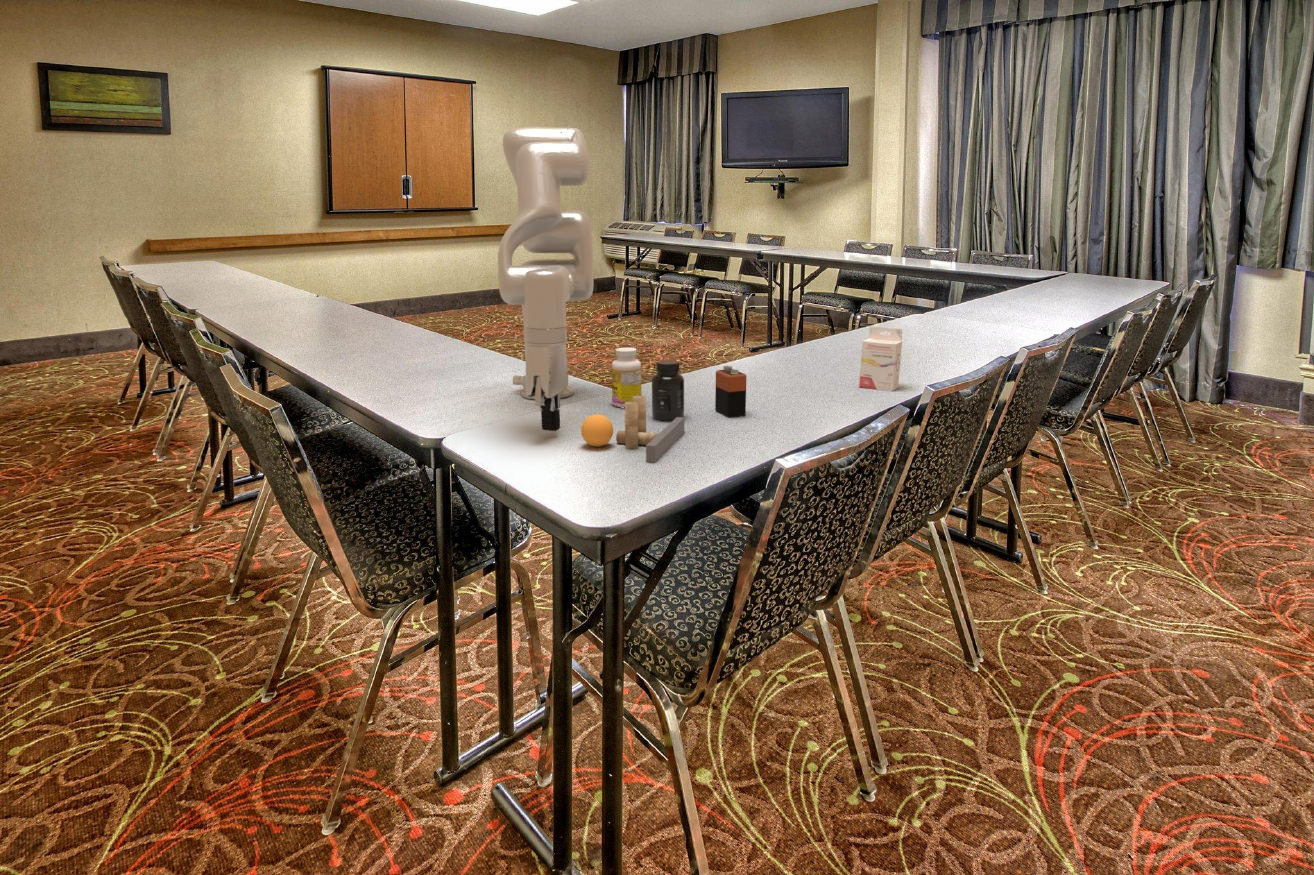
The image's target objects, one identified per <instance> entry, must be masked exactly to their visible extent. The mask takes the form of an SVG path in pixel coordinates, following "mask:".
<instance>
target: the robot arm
mask: <svg viewBox="0 0 1314 875" xmlns="http://www.w3.org/2000/svg"><path fill="white" fill-rule="evenodd" d="M502 148H503V153H504V157H505V161H506V162H507V166H508V168H509V170H510V173H511V174H512V176H513V180H514V182H515V184H516V188H517V191H516V192H517V206H518V207H517V209H518V211H517V212H518V214H517V215H518V216H517V218H516V219H515V220H514V221H513V222H512V224H510V226H509V227H508V228H507V229H506V231H505V232H504V235H503V236H502V238H501V241H500V242H499V247H498V252H497V270H498V272H497V274H498V289H499V294H500V297H501V299H502V300H503V301H504V303H506V304H508V305H510V306H511V305H512V306H521V310H522V320H523V323H522V324H523V339H524V340H523V341H524V357H525V359H524V360H525V375H523V376H522V375H513V377H512V384H513V385H515V386H516V385H517V386H522V388H521V390H520V395H521V396H522V397H523V398H525V399H529V400H534V405H535V406H539V411H540V415H541V416H540V418H541V429H542V430H543V431H549V432H557V431H558V430H560V429H561V419H560V418H561V417H560V416H561V413H560V408H561V399H564V398H567V397H570V396H573V394H574V393H575V391H574V390H575V389H574V388H573V386H571V385H569V368H568V366H569V365H568V358H567V357H568V356H567V349H566V345H567V344H568V338H567V337H568V334H567V314H566V313H567V310H566V309H567V307H566V303H567V302H579V301H585V300H586V301H587V300H589V299H590V298H591V297H592V295H593V293H594V292H593V291H594V285H595V284H594V282H595V281H594V255H593V254H594V252H593V232H592V225H591V221H590V218H589V216H588V215H587V213H585V212H584V211H582V210H577V209H562V201H561V199H562V198H561V186H562V187H567V186H568V187H570V186H571V187H573V186H575V187H576V186H577V187H579V186H583V185H585V184H586V183H587V181H588V178H589V174H590V159H589V158H590V157H589V152H588V151H589V150H588V146H587V142H586V138H585V135H584V133H583V132H582V130H580V129H579V128H576V127H567V126H565V127H559V126H558V127H557V126H556V127H555V126H554V127H553V126H551V127H550V126H523V127H522V126H521V127H514V128H511V129H509V130H507V131H506V132H504V134H503V136H502ZM521 245H522V246H523V247H524V250H526V251H527V252H528V253H533V254H570V255H571V256H572V257H573V258H572V259H571V258H570V259H569V258H568V259H566V258H565V259H563V258H562V259H552V258H551V259H549V258H548V259H547V258H545V259H544V258H542V259H532V260H528V261H524V262H523V263H521V264H520V265H513V256H514V253H515V251H516V250H517V249H518V247H519V246H521Z"/></svg>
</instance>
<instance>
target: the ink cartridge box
mask: <svg viewBox="0 0 1314 875" xmlns="http://www.w3.org/2000/svg"><path fill="white" fill-rule="evenodd" d="M868 332H869V333H868V334H869V337H868V338H866V339H863V340H862V345H861V346H862V348H861V357H860V358H861V359H860V371H859V385H858V387H859V388H863V389H869V390H870V389H871V390H877V391H883V392H884V391H886V392H894V391H895V390H897V389H898V388H899V382H900V381H899V380H900V372H901V371H900V369H901V361H902V360H901V359H902V350H903V349H902V348H903V347H902V346H903V341H902V338H903V336H902V335H903V329H902V328H899V327H898V328H897V327H888V326H874V325H871V326H870V327H869V331H868ZM883 332H887V333H891V334H883Z"/></svg>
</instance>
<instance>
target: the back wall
mask: <svg viewBox="0 0 1314 875" xmlns="http://www.w3.org/2000/svg"><path fill="white" fill-rule="evenodd" d="M657 434H658V435H657V436H656V437H655V438H654V439H653V440H651V441H650V442H649V443H648V444H647V445H645V462H646V463H656V462H657V461H658V460H659V459H660V458H662V456H663V455H664V454H665V453H666V452H667V451H668V450H669V449H670V448H671V447H672V446H673V445H674V444H675V442H676V441H678V440H679V438H681V436H682V435H683V434H685V417H683V418H682V417H676V418H675V419H674V420H673V421H670V423H669V424H667V426H666V427H665V428H662V430H661V431H660V432H659V433H657Z"/></svg>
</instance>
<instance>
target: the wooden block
mask: <svg viewBox="0 0 1314 875" xmlns="http://www.w3.org/2000/svg"><path fill="white" fill-rule="evenodd" d="M658 434H659V433H655V432H654V433H653V432H646V433H644V432H638V446H646V445H647V444H648V443H649V442H650V441H651V440H653V439H654V438H655V437H656V436H657V435H658ZM615 441H616V443H617V444H625V430H617V432H616V437H615Z"/></svg>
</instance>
